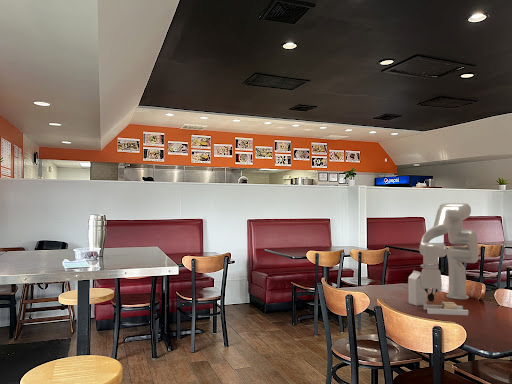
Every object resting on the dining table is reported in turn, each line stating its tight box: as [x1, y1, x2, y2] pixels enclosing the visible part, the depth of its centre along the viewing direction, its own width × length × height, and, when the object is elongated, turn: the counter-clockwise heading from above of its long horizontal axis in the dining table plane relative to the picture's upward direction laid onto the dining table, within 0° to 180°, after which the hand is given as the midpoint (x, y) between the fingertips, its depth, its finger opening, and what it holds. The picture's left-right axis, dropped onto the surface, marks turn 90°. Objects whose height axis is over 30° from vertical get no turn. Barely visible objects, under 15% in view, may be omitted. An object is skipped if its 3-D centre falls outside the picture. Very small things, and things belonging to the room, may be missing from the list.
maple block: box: [441, 301, 458, 310], centre depth 222 cm, size 6×6×5 cm
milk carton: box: [407, 269, 428, 306], centre depth 240 cm, size 7×7×19 cm
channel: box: [423, 304, 469, 316], centre depth 222 cm, size 10×20×2 cm, turn 80°
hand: (430, 301), depth 223 cm, fingers closed
